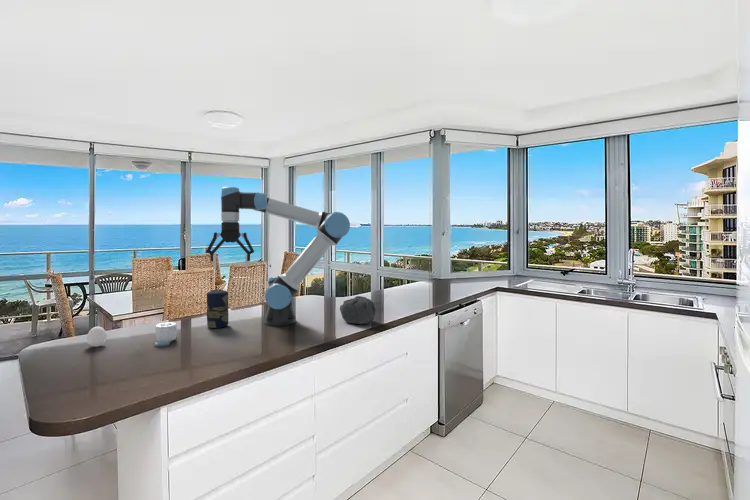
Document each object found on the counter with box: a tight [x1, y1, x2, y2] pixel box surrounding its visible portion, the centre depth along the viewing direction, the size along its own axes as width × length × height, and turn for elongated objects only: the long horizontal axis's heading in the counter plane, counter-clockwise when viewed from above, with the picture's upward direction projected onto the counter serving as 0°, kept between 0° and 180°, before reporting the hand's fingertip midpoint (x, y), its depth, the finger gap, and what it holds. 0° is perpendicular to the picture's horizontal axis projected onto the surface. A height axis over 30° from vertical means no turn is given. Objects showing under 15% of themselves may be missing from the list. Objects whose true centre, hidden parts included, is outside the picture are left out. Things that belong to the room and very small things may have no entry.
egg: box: [86, 326, 108, 348], centre depth 147 cm, size 6×6×8 cm
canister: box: [206, 288, 229, 329], centre depth 178 cm, size 10×10×18 cm
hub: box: [155, 321, 178, 342], centre depth 155 cm, size 7×7×6 cm
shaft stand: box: [154, 324, 174, 347], centre depth 155 cm, size 5×12×7 cm, turn 14°
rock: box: [339, 295, 377, 325], centre depth 191 cm, size 22×14×15 cm
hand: (230, 268), depth 170 cm, fingers open, 13 cm apart
